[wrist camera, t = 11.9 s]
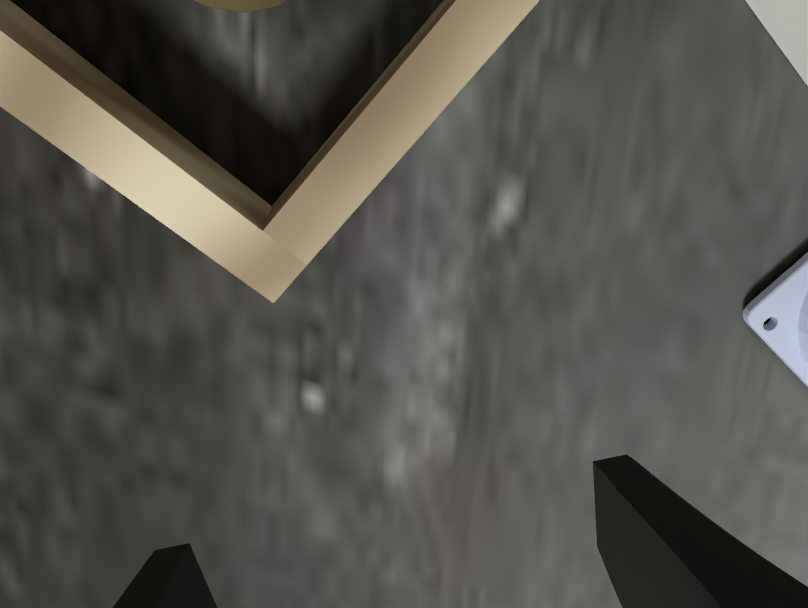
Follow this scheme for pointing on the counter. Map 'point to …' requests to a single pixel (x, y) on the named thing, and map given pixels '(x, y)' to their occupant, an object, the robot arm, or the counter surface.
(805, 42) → the white picture frame
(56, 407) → the counter surface
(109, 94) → the wooden square frame
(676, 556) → the robot arm
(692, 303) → the counter surface
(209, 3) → the cork
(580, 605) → the counter surface
